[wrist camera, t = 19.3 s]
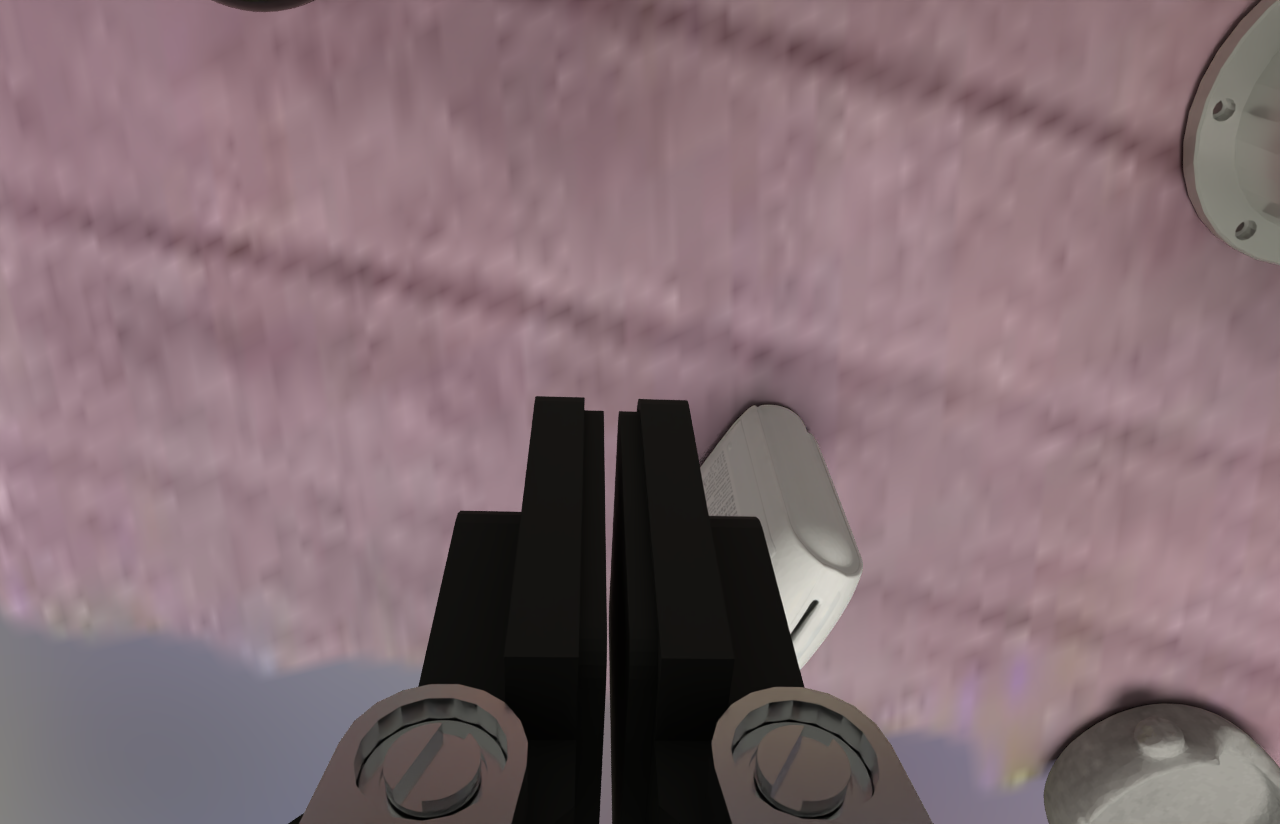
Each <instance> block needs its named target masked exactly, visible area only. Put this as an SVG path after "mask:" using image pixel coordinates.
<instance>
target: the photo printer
mask: <svg viewBox="0 0 1280 824" xmlns="http://www.w3.org/2000/svg"><path fill="white" fill-rule="evenodd" d="M700 470H701V475H702V481H703V487H704V492H705V498H706V503H707V509H708V514H709V516H750V517H757V518H758V519H759V520H760V522H761V525H762V528H763V531H764V535H765V539H766V543H767V547H768V551H769V554H770V558H771V562H772V566H773V570H774V573H775V577H776V581H777V585H778V589H779V592H780V596H781V600H782V604H783V608H784V612H785V615H786V619H787V623H788V627H789V631H790V634H791V638H792V642H793V646H794V650H795V654H796V657H797V661H798V665H799V669H800V670H801V668H802V667H803V666H804V665H805V664H806V663H807V662H808V660H809V659H810V658H811V657H812V655H813V654H814V653H815V652H816V650H817V649H818V648H819V646H820V645H821V644H822V643H823V641H824V640H825V639H826V637H827V636H828V634H829V633H830V632H831V630H832V629H833V627H834V626H835V624H836V623H837V621H838V620H839V618H840V616H841V615H842V613H843V612H844V610H845V608H846V607H847V605H848V603H849V601H850V600H851V598H852V596H853V593H854V591H855V589H856V586H857V584H858V582H859V579H860V576H861V574H862V569H863V562H862V558H861V555H860V553H859V550H858V547H857V545H856V542H855V539H854V537H853V534H852V531H851V529H850V526H849V523H848V521H847V518H846V516H845V513H844V510H843V507H842V505H841V502H840V500H839V497H838V494H837V492H836V489H835V486H834V484H833V481H832V479H831V476H830V474H829V471H828V468H827V466H826V463H825V460H824V458H823V456H822V453H821V451H820V448H819V446H818V443H817V441H816V439H815V438H814V436H813V435H812V434H810V433H808V432H807V430H806V427H805V425H804V423H803V421H802V420H801V419H800V417H799V416H798V415H796V414H795V413H794V412H793V411H791V410H789V409H787V408H785V407H782V406H778V405H761V406H759V407H757V406H755V405H753V406H751V407H750V408H749V409H747V410H746V411H745V412H744V413H743V414H742V415H741V416H740V417H739V418H738V419H737V420H736V422H735V423H734V424H733V425H732V426H731V428H730V429H729V430H728V431H727V433H726V434H725V435H724V437H723V438H722V439H721V440H720V442H719V443H718V444H717V446H716V447H715V448H714V450H713V451H712V452H711V454H710V455H709V456H708V458H707V459H706V460H705V462H704V463H703V465H702V466H701V467H700Z"/></svg>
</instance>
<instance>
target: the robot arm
mask: <svg viewBox="0 0 1280 824" xmlns="http://www.w3.org/2000/svg"><path fill="white" fill-rule="evenodd" d="M1215 105H1216V106H1215ZM1214 107H1215V108H1214ZM1183 172H1184V177H1185V182H1186V186H1187V191H1188V196H1189V198H1190V200H1191V202H1192V204H1193V206H1194V208H1195V210H1196V212H1197V214H1198V217H1199V218H1200V219H1201V220H1202V222H1203V223H1204V224H1205V225H1206V226H1207V227H1208V229H1209V230H1210V231H1211V232H1212V233H1213V234H1214V235H1215V236H1216V237H1218V238H1219V239H1220V240H1222V241H1223V242H1225V243H1226V244H1228V245H1229V246H1231V247H1232V248H1234V249H1236V250H1238V251H1240V252H1242V253H1244V254H1246V255H1248V256H1250V257H1252V258H1254V259H1256V260H1260V261H1264V262H1268V263H1272V264H1276V265H1280V0H1261V1H1260V2H1259V3H1258V4H1257V5H1256V6H1255V7H1254V8H1253V9H1252V10H1251V11H1250V12H1249V13H1248V14H1247V15H1246V16H1245V17H1244V18H1243V19H1242V20H1241V21H1240V23H1239V24H1238V25H1237V26H1236V28H1235V29H1234V30H1233V32H1232V33H1231V34H1230V36H1229V37H1228V38H1227V40H1226V41H1225V42H1224V43H1223V45H1222V46H1221V47H1220V49H1219V50H1218V52H1217V53H1216V55H1215V57H1214V59H1213V61H1212V62H1211V64H1210V66H1209V68H1208V69H1207V71H1206V73H1205V75H1204V77H1203V78H1202V80H1201V82H1200V85H1199V88H1198V90H1197V93H1196V96H1195V98H1194V101H1193V103H1192V106H1191V109H1190V111H1189V116H1188V121H1187V126H1186V131H1185V136H1184V141H1183ZM609 660H610V718H611V773H612V774H611V775H612V824H933V823H932V821H931V819H930V817H929V815H928V813H927V811H926V809H925V808H924V806H923V804H922V802H921V800H920V798H919V796H918V795H917V793H916V791H915V789H914V787H913V785H912V783H911V781H910V779H909V778H908V776H907V774H906V772H905V770H904V768H903V766H902V764H901V762H900V760H899V758H898V757H897V755H896V753H895V751H894V749H893V747H892V745H891V744H890V743H889V741H888V740H887V738H886V737H885V736H884V734H883V733H882V732H881V730H880V729H879V727H878V726H877V725H876V724H875V723H874V722H873V721H872V720H871V719H869V718H868V717H867V716H866V715H864V714H863V713H862V712H861V711H859V710H858V709H857V708H856V707H855V706H853V705H851V704H849V703H847V702H845V701H843V700H841V699H838V698H836V697H834V696H832V695H830V694H828V693H824V692H820V691H815V690H811V689H807V688H804V684H803V680H802V676H801V673H800V669H799V665H798V661H797V657H796V654H795V650H794V646H793V642H792V638H791V634H790V631H789V627H788V623H787V619H786V615H785V612H784V608H783V604H782V600H781V596H780V592H779V589H778V585H777V581H776V577H775V573H774V570H773V566H772V562H771V558H770V554H769V551H768V547H767V543H766V539H765V535H764V531H763V528H762V525H761V522H760V520H759V519H758V518H757V517H750V516H709V514H708V509H707V503H706V498H705V492H704V487H703V481H702V475H701V470H700V464H699V459H698V453H697V448H696V442H695V437H694V431H693V426H692V420H691V415H690V409H689V404H688V401H686V400H652V399H638V405H637V412H623V411H619V417H618V435H617V456H616V476H615V497H614V518H613V538H612V559H611V580H610V601H609ZM606 666H607V607H606V537H605V468H604V411H586V410H584V398H579V397H543V396H536V397H535V404H534V412H533V420H532V429H531V437H530V445H529V453H528V462H527V470H526V478H525V487H524V495H523V503H522V511H521V512H498V511H460V512H459V513H458V515H457V518H456V522H455V526H454V530H453V535H452V539H451V544H450V548H449V553H448V557H447V561H446V566H445V570H444V575H443V579H442V584H441V588H440V593H439V597H438V602H437V606H436V611H435V615H434V620H433V624H432V628H431V633H430V637H429V642H428V646H427V651H426V655H425V660H424V664H423V669H422V673H421V678H420V682H419V687H416V688H411V689H408V690H403V691H401V692H398V693H396V694H394V695H392V696H390V697H388V698H386V699H384V700H382V701H380V702H377V703H376V704H375V705H373V706H372V707H371V708H370V709H368V710H367V711H366V712H365V713H364V714H362V715H361V716H360V717H359V718H357V719H356V720H355V721H354V722H353V724H352V725H351V726H350V728H349V730H348V731H347V732H346V734H345V735H344V737H343V738H342V739H341V741H340V742H339V744H338V746H337V748H336V750H335V752H334V754H333V756H332V758H331V760H330V762H329V764H328V766H327V768H326V770H325V772H324V774H323V776H322V778H321V780H320V782H319V784H318V786H317V788H316V790H315V792H314V795H313V796H312V798H311V800H310V802H309V804H308V806H307V808H306V811H305V813H303V814H302V815H301V816H299V817H298V818H296V819H295V820H293V821H292V822H290V823H289V824H599V817H600V796H601V776H602V755H603V735H604V713H605V694H606Z"/></svg>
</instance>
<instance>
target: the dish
mask: <svg viewBox="0 0 1280 824" xmlns="http://www.w3.org/2000/svg"><path fill="white" fill-rule="evenodd" d="M1044 805H1045V811H1046V815H1047V819H1048V822H1049V824H1280V768H1279V767H1278V765H1277V764H1276V763H1275V761H1274V760H1273V759H1272V758H1271V757H1270V756H1269V755H1268V754H1267V753H1266V752H1265V751H1264V750H1263V749H1262V748H1261V747H1260V746H1259V745H1258V744H1257V743H1256V742H1255V741H1254V740H1253V739H1252V738H1251V737H1249V736H1248V735H1247V734H1246V733H1245V732H1244V731H1242V730H1241V729H1240V728H1238V727H1237V726H1235V725H1234V724H1233V723H1231V722H1230V721H1228V720H1226V719H1224V718H1223V717H1221V716H1219V715H1217V714H1214V713H1212V712H1209V711H1207V710H1204V709H1201V708H1197V707H1193V706H1188V705H1183V704H1168V703H1162V704H1151V705H1145V706H1140V707H1136V708H1133V709H1129V710H1126V711H1123V712H1120V713H1117V714H1115V715H1113V716H1110V717H1108V718H1106V719H1105V720H1103V721H1101V722H1099V723H1097V724H1095V725H1094V726H1092V727H1091V728H1089V729H1088V730H1086V731H1085V732H1084V733H1082V734H1081V735H1080V736H1078V737H1077V738H1076V739H1075V740H1074V741H1072V742H1071V743H1070V744H1069V745H1068V746H1067V747H1066V748H1065V750H1064V751H1063V752H1062V753H1061V755H1060V756H1059V757H1058V759H1057V760H1056V761H1055V763H1054V765H1053V767H1052V769H1051V771H1050V773H1049V775H1048V778H1047V781H1046V784H1045V789H1044Z"/></svg>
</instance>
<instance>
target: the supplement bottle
mask: <svg viewBox="0 0 1280 824" xmlns="http://www.w3.org/2000/svg"><path fill="white" fill-rule="evenodd" d="M212 1H215V2H217V3H219V4H222V5H225V6H228V7H232V8H236V9H240V10H246V11H253V12H274V11H282V10H287V9H292V8H296V7H299V6H302V5H305V4H307V3H310V2H312V1H314V0H212Z"/></svg>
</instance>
